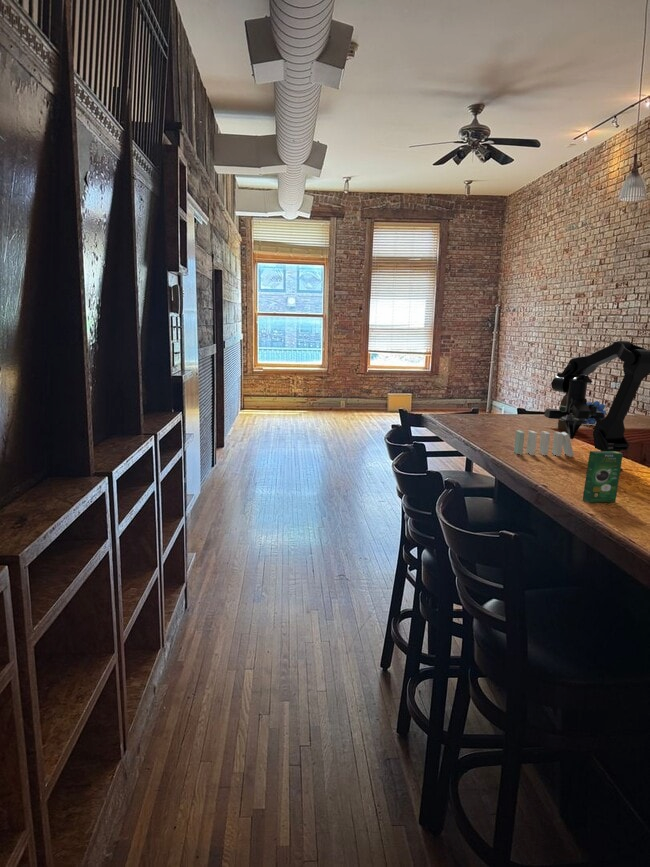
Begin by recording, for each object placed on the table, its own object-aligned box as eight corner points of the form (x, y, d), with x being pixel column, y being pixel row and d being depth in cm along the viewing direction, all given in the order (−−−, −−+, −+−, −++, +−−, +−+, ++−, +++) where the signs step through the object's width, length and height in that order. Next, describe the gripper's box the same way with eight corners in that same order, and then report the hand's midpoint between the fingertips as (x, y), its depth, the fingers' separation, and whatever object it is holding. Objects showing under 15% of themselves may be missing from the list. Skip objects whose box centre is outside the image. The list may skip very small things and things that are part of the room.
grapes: (604, 425, 264) (607, 400, 262) (604, 427, 258) (607, 402, 256) (577, 422, 269) (580, 398, 267) (577, 424, 263) (580, 400, 261)
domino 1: (513, 452, 196) (516, 430, 194) (518, 452, 196) (520, 430, 194) (517, 454, 191) (519, 432, 190) (522, 455, 191) (524, 432, 190)
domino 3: (547, 456, 191) (550, 433, 190) (543, 455, 191) (545, 433, 190) (543, 453, 196) (545, 431, 194) (538, 452, 196) (541, 431, 194)
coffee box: (609, 499, 142) (615, 450, 140) (616, 502, 139) (624, 452, 137) (581, 500, 140) (588, 450, 138) (589, 503, 138) (595, 452, 135)
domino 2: (534, 455, 192) (537, 433, 190) (530, 455, 192) (532, 432, 190) (530, 452, 196) (533, 430, 195) (526, 452, 196) (528, 430, 195)
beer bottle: (553, 429, 248) (559, 376, 244) (561, 427, 253) (567, 375, 249) (570, 431, 243) (577, 377, 238) (578, 430, 248) (585, 377, 243)
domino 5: (573, 455, 191) (569, 434, 189) (569, 457, 191) (564, 435, 190) (568, 452, 195) (564, 431, 194) (564, 454, 195) (559, 433, 194)
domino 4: (560, 456, 191) (563, 434, 190) (556, 456, 191) (558, 434, 190) (556, 453, 196) (558, 431, 194) (551, 453, 196) (554, 431, 194)
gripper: (557, 396, 182) (552, 442, 185) (614, 398, 181) (608, 444, 184) (546, 392, 193) (541, 436, 196) (600, 395, 192) (594, 438, 195)
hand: (571, 438), depth 192 cm, fingers closed
